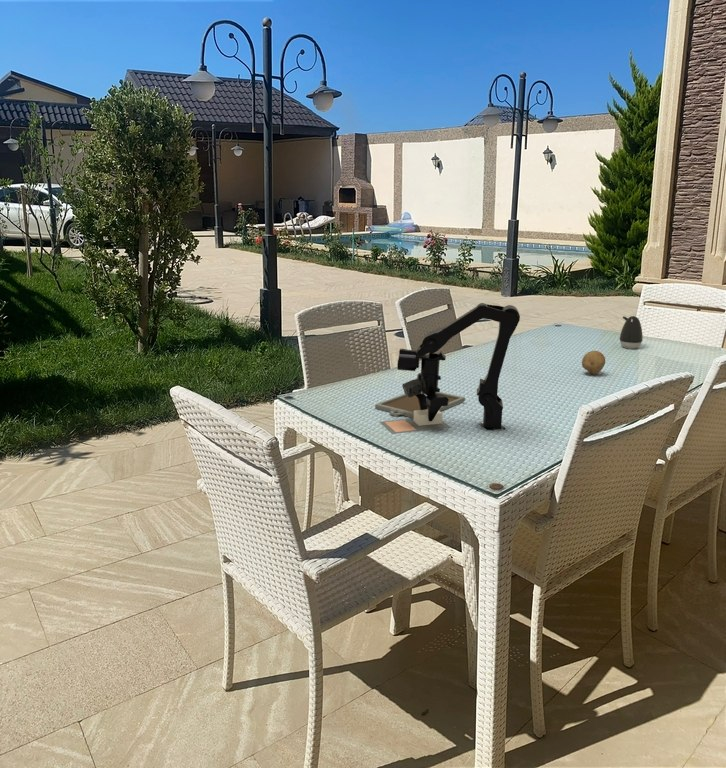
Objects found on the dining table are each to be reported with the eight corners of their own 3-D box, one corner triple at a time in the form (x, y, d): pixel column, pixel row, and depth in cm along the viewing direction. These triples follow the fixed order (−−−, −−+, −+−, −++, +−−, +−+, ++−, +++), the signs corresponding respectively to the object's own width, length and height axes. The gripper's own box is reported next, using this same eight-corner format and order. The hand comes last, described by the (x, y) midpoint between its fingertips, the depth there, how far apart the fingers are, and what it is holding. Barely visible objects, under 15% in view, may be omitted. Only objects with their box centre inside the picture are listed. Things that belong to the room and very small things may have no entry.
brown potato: (590, 378, 291) (593, 354, 288) (576, 373, 299) (578, 349, 296) (608, 376, 294) (610, 352, 292) (593, 370, 302) (595, 347, 299)
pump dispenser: (625, 344, 351) (629, 313, 347) (645, 348, 343) (649, 316, 339) (614, 347, 345) (617, 315, 340) (634, 351, 337) (637, 319, 333)
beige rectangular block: (442, 423, 234) (442, 413, 234) (419, 425, 232) (419, 415, 231) (436, 418, 239) (436, 408, 238) (413, 420, 237) (413, 410, 236)
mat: (451, 429, 231) (451, 426, 231) (392, 435, 225) (392, 433, 225) (435, 417, 242) (435, 415, 242) (379, 423, 236) (379, 421, 236)
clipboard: (465, 397, 257) (416, 417, 235) (465, 401, 258) (415, 422, 235) (421, 387, 269) (370, 406, 247) (420, 391, 269) (370, 410, 247)
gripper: (395, 365, 236) (393, 409, 241) (417, 382, 220) (414, 430, 225) (427, 363, 240) (424, 407, 245) (451, 380, 223) (447, 427, 228)
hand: (426, 417), depth 235 cm, fingers open, 6 cm apart
